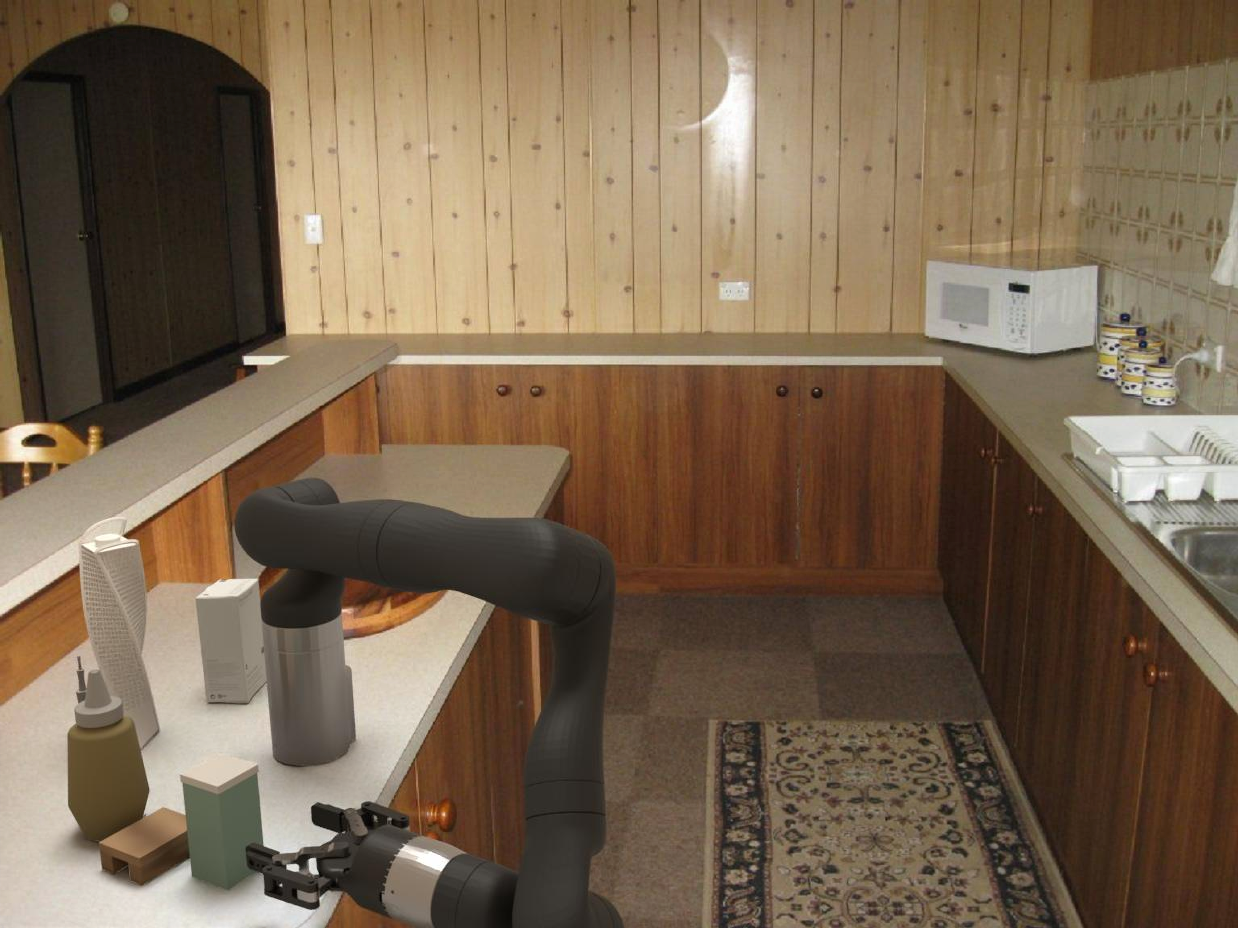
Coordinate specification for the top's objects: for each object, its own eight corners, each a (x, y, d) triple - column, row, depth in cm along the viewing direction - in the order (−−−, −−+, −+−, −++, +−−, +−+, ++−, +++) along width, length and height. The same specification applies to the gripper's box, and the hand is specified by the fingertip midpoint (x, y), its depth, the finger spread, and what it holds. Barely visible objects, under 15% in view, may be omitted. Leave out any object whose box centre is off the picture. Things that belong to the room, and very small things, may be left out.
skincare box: (248, 704, 163) (238, 597, 159) (203, 703, 163) (193, 596, 160) (269, 678, 171) (261, 576, 168) (227, 678, 171) (217, 575, 168)
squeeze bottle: (72, 855, 128) (51, 693, 123) (71, 819, 135) (52, 664, 130) (155, 838, 131) (138, 679, 126) (150, 803, 138) (134, 651, 134)
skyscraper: (111, 726, 158) (86, 514, 151) (173, 727, 157) (151, 514, 151) (79, 757, 150) (52, 534, 143) (145, 758, 149) (120, 535, 143)
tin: (230, 852, 128) (220, 752, 125) (266, 865, 125) (258, 764, 123) (190, 876, 124) (179, 774, 121) (227, 891, 121) (217, 786, 118)
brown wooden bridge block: (165, 832, 132) (163, 807, 131) (205, 847, 129) (203, 821, 128) (101, 869, 125) (98, 842, 124) (142, 885, 122) (139, 858, 121)
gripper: (461, 805, 116) (330, 765, 124) (358, 880, 104) (221, 831, 112) (464, 877, 118) (335, 833, 126) (363, 958, 106) (228, 904, 114)
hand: (281, 832), depth 119 cm, fingers open, 8 cm apart
